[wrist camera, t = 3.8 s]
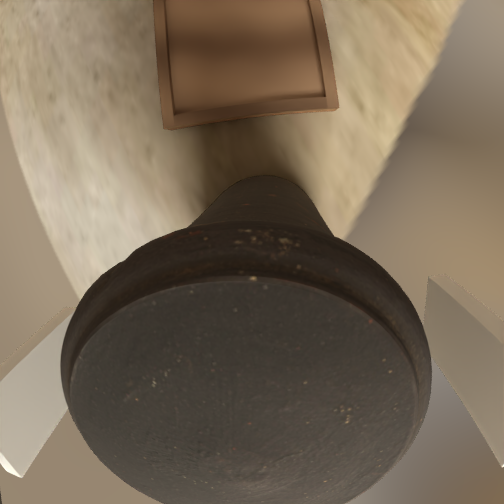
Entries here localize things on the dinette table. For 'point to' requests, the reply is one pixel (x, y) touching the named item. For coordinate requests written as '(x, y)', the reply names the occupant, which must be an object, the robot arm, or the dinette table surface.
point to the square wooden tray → (241, 60)
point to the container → (248, 359)
